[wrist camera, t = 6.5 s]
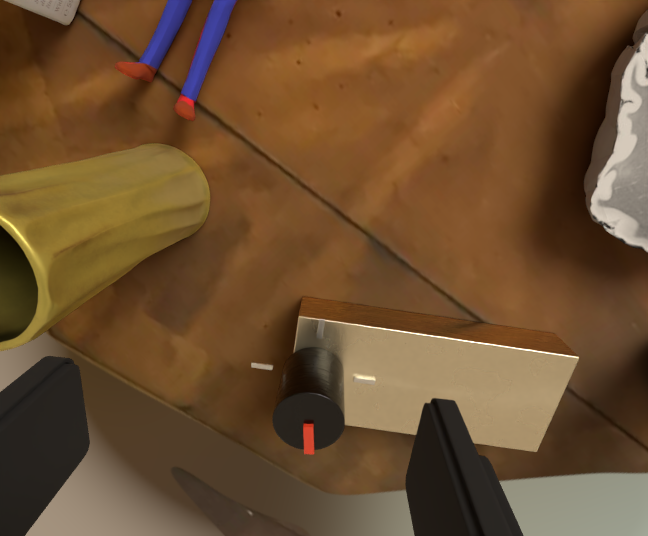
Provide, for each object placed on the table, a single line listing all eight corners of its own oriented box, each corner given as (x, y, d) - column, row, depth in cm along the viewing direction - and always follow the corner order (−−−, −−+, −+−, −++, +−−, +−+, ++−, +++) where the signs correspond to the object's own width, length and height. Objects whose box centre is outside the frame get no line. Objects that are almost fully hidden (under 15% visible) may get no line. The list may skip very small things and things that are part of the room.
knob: (281, 346, 25) (269, 396, 20) (344, 347, 25) (345, 397, 20) (284, 397, 26) (273, 454, 22) (343, 398, 26) (344, 455, 22)
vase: (137, 247, 26) (-75, 380, 13) (100, 154, 24) (-202, 195, 10) (223, 229, 25) (96, 349, 12) (193, 132, 23) (-3, 147, 10)
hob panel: (255, 385, 30) (246, 414, 27) (265, 288, 27) (256, 309, 24) (518, 422, 30) (537, 455, 27) (555, 331, 27) (582, 357, 24)
